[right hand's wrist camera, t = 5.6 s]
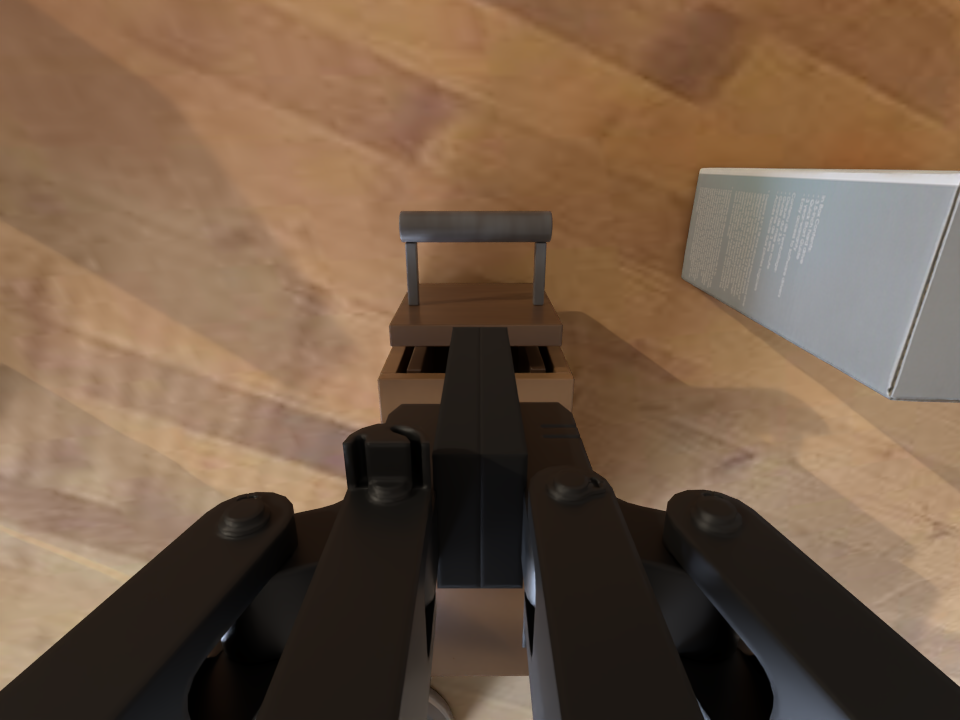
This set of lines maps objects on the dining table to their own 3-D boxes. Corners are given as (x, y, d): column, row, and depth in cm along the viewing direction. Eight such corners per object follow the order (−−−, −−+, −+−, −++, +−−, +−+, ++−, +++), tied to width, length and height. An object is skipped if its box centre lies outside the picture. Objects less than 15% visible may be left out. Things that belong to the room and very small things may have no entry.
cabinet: (406, 316, 37) (377, 379, 26) (546, 315, 37) (574, 378, 26) (419, 553, 44) (400, 676, 34) (534, 553, 44) (552, 676, 34)
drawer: (407, 203, 33) (381, 218, 24) (544, 203, 33) (569, 218, 24) (423, 525, 42) (408, 623, 33) (530, 525, 42) (544, 622, 33)
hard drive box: (933, 170, 33) (1518, 182, 14) (895, 286, 36) (1345, 422, 17) (694, 164, 33) (977, 169, 14) (675, 281, 36) (891, 413, 17)
